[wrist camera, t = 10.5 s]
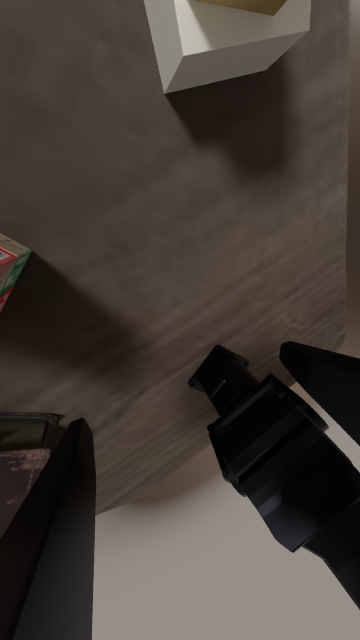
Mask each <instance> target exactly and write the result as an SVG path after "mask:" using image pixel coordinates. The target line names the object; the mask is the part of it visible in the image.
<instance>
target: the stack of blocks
mask: <svg viewBox="0 0 360 640" xmlns="http://www.w3.org/2000/svg"><path fill="white" fill-rule="evenodd" d="M31 252H32V251H31V250H30V249H28V248H26V247H25V246H23V245H21V244H19V243H17V242H15V241H13V240H12V239H10V238H8V237H6V236H4V235H2V234H1V233H0V313H1V311H2V309H3V307H4V305H5V303H6V301H7V299H8V297H9V295H10V293H11V291H12V290H13V288H14V284H15V282H16V280H17V278H18V276H19V275H20V273H21V271H22V269H23V267H24V265H25V263H26V261H27V259H28V257H29V256H30V254H31Z"/></svg>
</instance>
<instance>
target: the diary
mask: <svg viewBox="0 0 360 640" xmlns="http://www.w3.org/2000/svg"><path fill="white" fill-rule="evenodd" d="M57 419H58V416H55V415H52V414H49V413H24V412H0V539H1V537H2V536H3V534H4V532H5V531H6V529H7V527H8V526H9V524H10V522H11V521H12V519H13V517H14V516H15V514H16V512H17V511H18V509H19V507H20V506H21V504H22V502H23V501H24V499H25V497H26V496H27V494H28V492H29V491H30V489H31V487H32V486H33V484H34V482H35V481H36V479H37V477H38V476H39V474H40V473H41V471H42V469H43V468H44V466H45V464H46V463H47V461H48V459H49V456H50V452H51V447H50V444H51V441H52V438H53V434H54V430H55V427H56V423H57Z"/></svg>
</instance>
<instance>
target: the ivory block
mask: <svg viewBox="0 0 360 640" xmlns="http://www.w3.org/2000/svg"><path fill="white" fill-rule="evenodd" d="M144 3H145V8H146V12H147V17H148V21H149V26H150V31H151V35H152V40H153V44H154V49H155V53H156V58H157V63H158V67H159V72H160V76H161V81H162V85H163V90H164V94H166V93H170V92H174V91H179V90H183V89H187V88H192V87H196V86H200V85H205V84H209V83H213V82H218V81H222V80H226V79H230V78H235V77H239V76H243V75H248V74H252V73H256V72H261V71H265V70H266V69H267V68H268V67H270V66H271V65H272V64H273V63H274V62H275V61H276V60H277V59H278V58H279V57H281V56H282V55H283V54H284V53H285V52H286V51H287V50H288V49H289V48H290V47H292V46H293V45H294V44H295V43H296V42H297V41H298V40H299V39H300V38H301V37H303V36H304V35H305V34H306V33H307V32H308V31H309V30H310V7H311V0H287V1H286V2H285V4H284V5H283V6H282V7H281V8H280V9H279V11H278V12H277V13H276V14H275V15H274V16H270V15H265V14H260V13H256V12H251V11H246V10H242V9H237V8H232V7H227V6H223V5H218V4H213V3H209V2H204V1H199V0H144Z"/></svg>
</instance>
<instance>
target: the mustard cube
mask: <svg viewBox="0 0 360 640" xmlns="http://www.w3.org/2000/svg"><path fill="white" fill-rule="evenodd" d="M199 1H204V2H209V3H213V4H218V5H223V6H227V7H232V8H237V9H242V10H246V11H251V12H256V13H260V14H265V15H270V16H274V15H275V14H276V13H277V12H278V11H279V9H280V8H281V7H282V6H283V5H284V4H285V2H286V1H287V0H199Z"/></svg>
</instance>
